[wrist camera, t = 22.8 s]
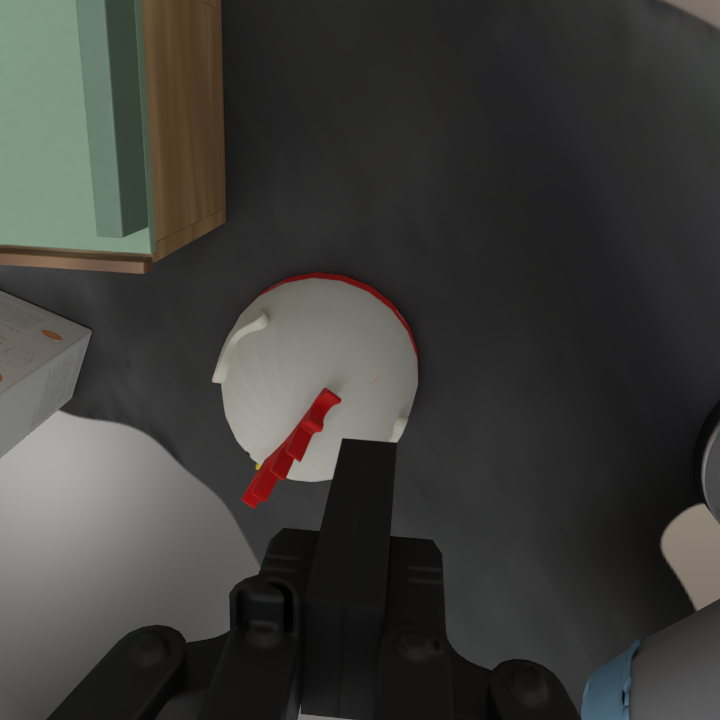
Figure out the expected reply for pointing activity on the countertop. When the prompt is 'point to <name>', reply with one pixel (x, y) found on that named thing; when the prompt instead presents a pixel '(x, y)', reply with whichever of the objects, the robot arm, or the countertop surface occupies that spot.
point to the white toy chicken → (315, 376)
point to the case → (169, 139)
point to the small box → (35, 366)
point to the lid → (75, 126)
